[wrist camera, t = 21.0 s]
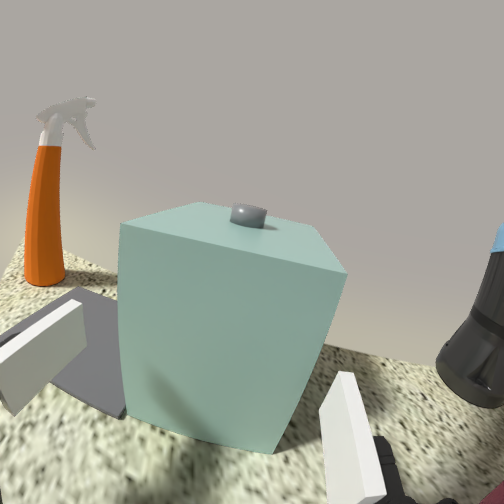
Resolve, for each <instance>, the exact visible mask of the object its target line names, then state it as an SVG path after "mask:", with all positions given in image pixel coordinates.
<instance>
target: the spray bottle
mask: <svg viewBox="0 0 504 504" xmlns="http://www.w3.org/2000/svg"><path fill="white" fill-rule="evenodd" d="M95 103H96V100H95V99H93V98H87V97H83V98H75V99H72V100H67V101H64V102H61V103H58V104H56V105H53V106H50V107H49V108H47V109H45V110H43V111H42V112H41V113H39V114H38V115H37V116H36V119H37V120H38V121H40V122H41V123H45V127H44V131H43V132H41V136H40V142H39V147H38V151H37V155H36V159H35V164H34V169H33V175H32V180H31V186H30V193H29V200H28V209H27V218H26V231H25V254H24V275H25V279H26V280H27V282H29V283H31V284H32V285H37V286H49V285H54V284H56V283H58V282H60V281H62V280H63V278H64V277H65V269H64V261H63V252H62V242H61V227H60V200H59V199H60V198H59V189H60V187H59V184H60V160H61V145H62V139H63V133H62V129H63V124H64V123H65V122H68V123H69V124H71V125H73V126H74V128H75V129H76V130H77V132H78V134H79V135H80V137H81V138H82V140H83V141H84V142H85V143H86V144H87V145H88V146H89V147H90V148H91V149H93V150H95V149H96V148H95V147H94V145H93V144H92V141H91V139H90V137H89V134H88V131H87V128H86V123H85V118H86V116H87V112H86V109H87V108H92V107H94V106H95ZM71 117H73V118H77V119H76V121H74V120H72V119H71Z"/></svg>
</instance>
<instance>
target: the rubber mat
mask: <svg viewBox="0 0 504 504" xmlns="http://www.w3.org/2000/svg"><path fill="white" fill-rule="evenodd" d="M71 299H73V300H76V301H78V302H80V303H82V306H83V317H84V326H85V334H86V342H87V346H86V347H85V348H84V349H83V350H82V351H81V352H80V353H79V354H78V355H77V356H76V357H75V358H74V359H73V360H71V361H70V362H69V363H68V364H67V365H66V366H65V367H64V368H63V369H62V370H61V371H60V372H59V373H58V374H57V375H56V376H55V377H54V378H53V379H52V380H51V381H50V383H52V384H53V385H55V386H57V387H58V388H60V389H61V390H63V391H65V392H66V393H68V394H70V395H72V396H73V397H75V398H77V399H79V400H80V401H82V402H84V403H86V404H88V405H90V406H92V407H94V408H95V409H97V410H99V411H101V412H104V413H106V414H108V415H110V416H112V417H114V418H116V419H118V420H119V418H120V417H121V415H122V413H123V412H124V410H125V409H126V402H125V395H124V388H123V380H122V371H121V361H120V348H119V332H118V301H116V300H113V299H111V298H108V297H105V296H102V295H100V294H97V293H94V292H92V291H89V290H87V289H84V288H81V287H79V286H78V287H76V288H75V289H73V290H71V291H69V292H68V293H66V294H64V295H63V296H61V297H59V298H58V299H56V300H54V301H53V302H51V303H50V304H48V305H46V306H45V307H43V308H42V309H40V310H38V311H37V312H35V313H34V314H32V315H30V316H29V317H27V318H26V319H24V320H23V321H21V322H20V323H18V324H17V325H15V326H14V327H12V328H11V329H9V330H8V331H6V332H5V333H3V334H2V335H0V342H2V341H4V340H5V339H6V338H7V337H9V336H10V335H12V334H15V333H18V332H21V333H22V332H23V331H25V330H26V329H27V328H29V327H30V326H32V325H33V324H35V323H36V322H38V321H39V320H41V319H42V318H44V317H45V316H47V315H48V314H50V313H51V312H53V311H54V310H56V309H57V308H59V307H60V306H62V305H63V304H65V303H66V302H68V301H70V300H71Z"/></svg>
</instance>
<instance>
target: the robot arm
mask: <svg viewBox="0 0 504 504" xmlns="http://www.w3.org/2000/svg"><path fill="white" fill-rule="evenodd" d="M490 253H491V256H490V259H489V263H488V266H487V269H486V272H485V275H484V278H483V281H482V284H481V286H480V289H479V292H478V294H477V297H476V299H475V302H474V305H473V307H472V309H471V311H470V314H469V316H468V318H467V319H466V320H465V321H464V323H463V324H462V325H461V326H460V327H459V329H458V330H457V331H456V332H455V334H454V335H453V336H452V337H451V339H450V340H449V341H447V342H446V343H445V344H444V346H443V347H442V349H441V351H440V353H439V354H438V356H437V358H436V368H437V371H438V373H439V375H440V376H441V378H442V379H443V381H444V382H445V383H446V384H447V385H448V386H449V387H450V388H451V389H452V390H453V391H454V392H455V393H456V394H458V395H459V396H460V397H462V398H463V399H465V400H467V401H469V402H471V403H473V404H475V405H478V406H481V407H486V408H496V407H499V406H501V405H503V404H504V223H502V224H501V226H500V227H499V229H498V231H497V235H496V238H495V242H494V245H493V248H492V249H491V250H490ZM86 346H87V342H86V334H85V326H84V317H83V306H82V303H80V302H78V301H76V300H73V299H71V300H70V301H68V302H66V303H65V304H63V305H62V306H60V307H59V308H57V309H56V310H54V311H53V312H51V313H50V314H48V315H47V316H45V317H44V318H42V319H41V320H39V321H38V322H36V323H35V324H33V325H32V326H30V327H29V328H27V329H26V330H25V331H23V332H22V333H21V332H18V333H15V334H12V335H10V336H9V337H7V338H6V339H5V340H4V341H2V342H0V400H1V402H2V404H3V406H4V408H5V409H6V410H8V411H9V412H10V413H11V414H12V415H13V416H14V417H15V416H16V415H17V414H18V413H19V412H20V411H21V410H22V409H23V408H24V407H25V406H26V405H27V404H28V403H29V402H30V401H31V400H32V399H33V398H34V397H35V396H36V395H37V394H38V393H39V392H40V391H41V390H42V389H43V388H44V387H45V386H46V385H47V384H48V383H49V382H50V381H51V380H52V379H53V378H54V377H55V376H56V375H57V374H58V373H59V372H60V371H61V370H62V369H63V368H64V367H65V366H66V365H67V364H68V363H69V362H70V361H71V360H73V359H74V358H75V357H76V356H77V355H78V354H79V353H80V352H81V351H82V350H83V349H84V348H85V347H86ZM319 416H320V425H321V434H322V444H323V454H324V465H325V478H326V491H327V504H418V503H416V502H415V500H414V499H412V498H411V497H409V496H406V495H405V493H404V491H403V487H402V484H401V480H400V476H399V473H398V469H397V466H396V465H395V463H396V462H395V459H394V457H393V452H392V449H391V446H390V444H389V443H388V441H387V440H386V439H385V438H384V436H372V433H371V429H370V425H369V422H368V418H367V415H366V412H365V408H364V405H363V401H362V398H361V395H360V392H359V388H358V385H357V382H356V379H355V376H354V373H351V372H343V371H338V373H337V375H336V378H335V380H334V382H333V384H332V386H331V388H330V390H329V392H328V394H327V396H326V398H325V399H324V401H323V403H322V405H321V407H320V409H319ZM0 504H3V503H2V497H1V490H0ZM436 504H458V502H456V501H455V500H454V499H451V498H445V499H443V500H441V501H439V502H438V503H436Z"/></svg>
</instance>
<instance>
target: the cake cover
mask: <svg viewBox="0 0 504 504" xmlns="http://www.w3.org/2000/svg"><path fill="white" fill-rule="evenodd" d="M266 214H267V210H265V209H263V208H259V207H255V206H250V205H245V204H236V203H234V204H233V206H232V208H229V207H224V206H218V205H214V204H209V203H204V202H197V203H193V204H189V205H185V206H181V207H177V208H173V209H170V210H166V211H162V212H159V213H154V214H151V215H147V216H144V217H140V218H137V219H134V220H130V221H127V222H123V223H121V224H120V238H119V253H118V287H117V299H118V332H119V348H120V361H121V371H122V380H123V388H124V395H125V402H126V409H127V415H129V416H132V417H134V418H137V419H139V420H142V421H144V422H147V423H149V424H152V425H155V426H157V427H160V428H163V429H166V430H169V431H172V432H175V433H178V434H181V435H185V436H188V437H192V438H195V439H199V440H202V441H206V442H210V443H214V444H218V445H223V446H227V447H232V448H237V449H242V450H247V451H253V452H259V453H265V454H273V452H274V450H275V448H276V446H277V444H278V443H279V441H280V439H281V437H282V435H283V433H284V431H285V429H286V427H287V425H288V423H289V421H290V419H291V417H292V415H293V413H294V411H295V409H296V406H297V404H298V402H299V400H300V398H301V396H302V394H303V391H304V389H305V387H306V385H307V382H308V380H309V378H310V375H311V373H312V371H313V368H314V366H315V363H316V361H317V359H318V356H319V354H320V351H321V349H322V346H323V344H324V341H325V338H326V336H327V333H328V330H329V328H330V325H331V322H332V319H333V317H334V314H335V311H336V308H337V305H338V302H339V299H340V296H341V293H342V290H343V287H344V284H345V281H346V278H347V275H348V274H347V272H346V271H345V269H344V268H343V267H342V265H341V264H340V262H339V261H338V259H337V258H336V257H335V255H334V254H333V253H332V251H331V250H330V248H329V247H328V246H327V244H326V243H325V241H324V240H323V239H322V237H321V236H320V235H319V233H318V232H317V231H316V229H315V228H314V227H313V226H310V225H306V224H302V223H298V222H293V221H289V220H285V219H280V218H276V217H271V216H266Z"/></svg>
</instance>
